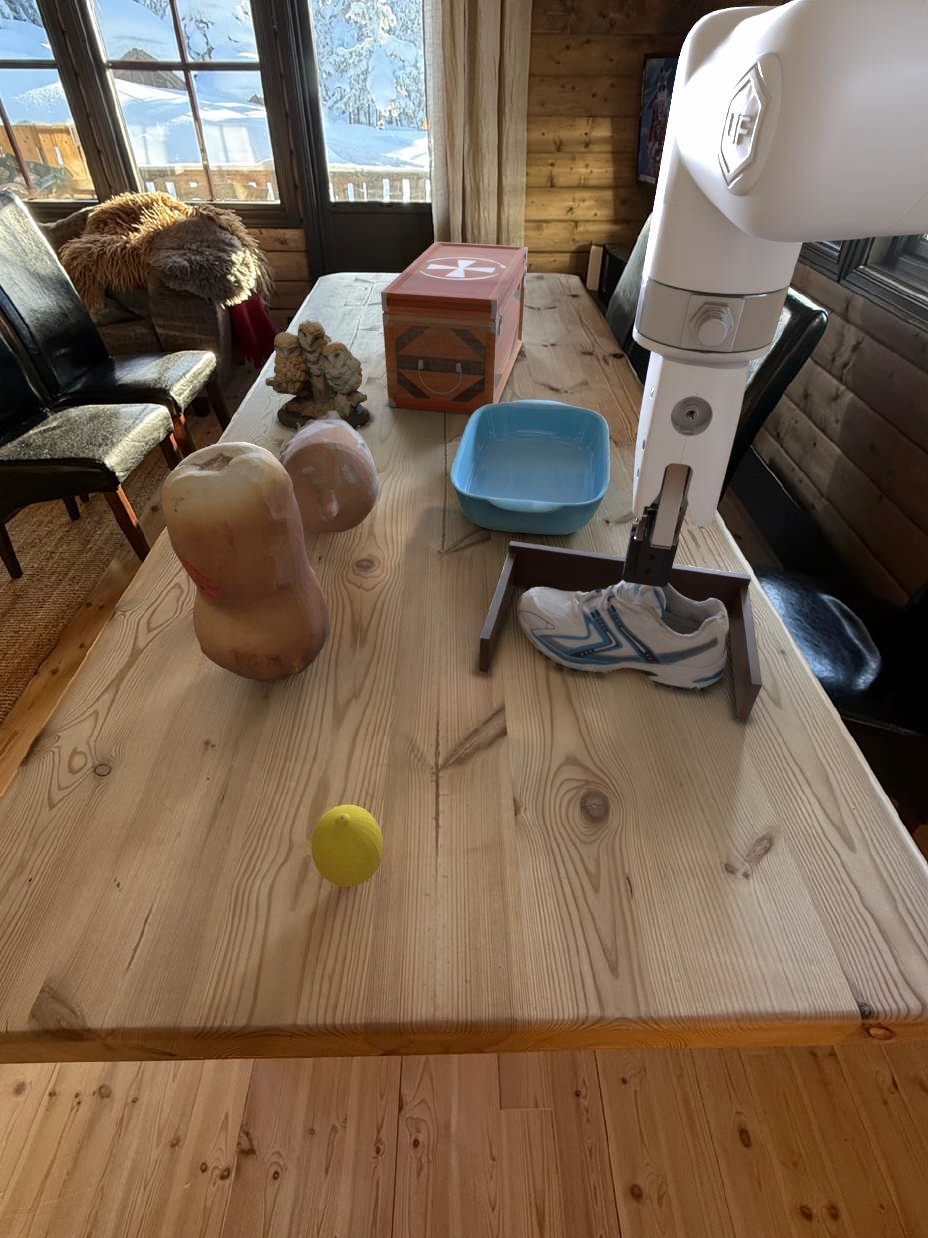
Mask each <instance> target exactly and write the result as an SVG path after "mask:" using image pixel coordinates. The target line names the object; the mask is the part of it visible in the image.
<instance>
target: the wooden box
mask: <svg viewBox="0 0 928 1238" xmlns="http://www.w3.org/2000/svg"><path fill="white" fill-rule="evenodd" d="M528 251H529V246H523V245H505V244H488V243H487V244H486V243H467V242H466V243H465V242H448V241H447V242H446V241H434V243H432V244H431V245H430V246H429V247H428V248H427V249H426V250H425V251H423V252H422V254H421V255H419V256H418V257H417V258H416V259H414V261H413V262H412V263H411V264H410V265H409V266H407V267H406V269H404V270H402V272H401V273H400V274H399V275H398V276H396V278H395V279H393V280H392V281H391V282H390V283H389V284H388V285H387V286H386V287H385V288H384V289H383V290H382V291H381V292H380V298H381V311H382V314H381V315H382V326H383V328H382V329H383V342H384V356H385V357H384V359H385V372H386V386H387V387H386V389H387V401H388V407H394V408H401V409H403V408H404V409H415V410H416V409H417V410H424V411H425V410H426V411H436V412H437V411H438V412H448V413H459V414H468V415H472V414H473V413H474V412H475V411H476V410H477V409H479V408H481V407H483V406H485V405H488V404H493V403H500V399H501V396H502V394H503V392H504V389H505V387H506V385H507V382H508V379H509V377H510V375H511V372H512V369H513V367H514V366H515V365H514V364H515V362H516V359H517V357H518V354H519V352H520V350H521V347H522V344H523V330H524V329H523V328H524V315H525V314H524V313H525V299H526V298H525V297H526V282H527V281H526V280H527V272H528V271H527V269H528V264H527V263H528Z"/></svg>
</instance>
